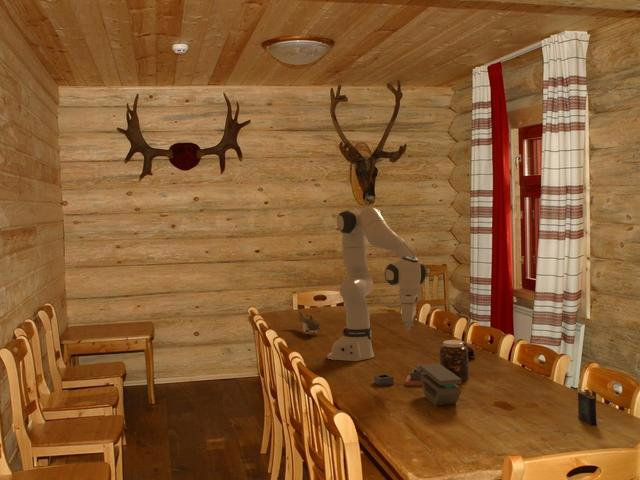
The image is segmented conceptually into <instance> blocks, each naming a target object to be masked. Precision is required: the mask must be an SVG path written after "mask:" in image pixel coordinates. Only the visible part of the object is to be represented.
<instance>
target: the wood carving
mask: <svg viewBox="0 0 640 480" xmlns="http://www.w3.org/2000/svg"><path fill="white" fill-rule="evenodd" d="M297 312H298V316H299V317H298V318H299V320H298V321H299V323H300V322H302V332H303V331H304V332H306V333H308V332H316V333H317V330H318V331H320V332H321V331H322V330H321V327H320V323H319V322H318V321H317V320H315V319H313V317H312V315H311V314H309V315H308V314H306V315H304V314H303V312H302V311H301V310H300V309H298V310H297Z"/></svg>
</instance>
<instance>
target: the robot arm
mask: <svg viewBox="0 0 640 480" xmlns="http://www.w3.org/2000/svg"><path fill="white" fill-rule="evenodd" d="M383 216H384V215H383V213H382V212H381V210H379V209H378V208H375V207H371V206H369V207H365V208H357V209H353V210H352V209H351V210H343V211H341V212H340V213H338V215H337V218H336V226H337V229H338V230H339V231H340V232H341V233H342V236H341V237H342V238H341V246H342V248H341V249H342V261H343V266H344V268H345V270H346V273H347V278H346V279H344V280H343V281H342V283H341V284H340V287H339V295H340V297H342V301H343V306H344V309H345V316H346V317H345V318H346V326H344V327H343V329H342V336H341V337H340V338H339V339H337V340H336V341H335V342H334V343H333V345H332V347H331V352H329V353H328V354H327V356H326V358H327V359H328V360H329V359H331V361H332V360H334V361H349V362H359V361H364V360H369V359H372V358H375V353H374V350H373V345H372V327H371V324H370V323H371V322H370V309H369V308H368V305H367V302H366V296H368V295H369V294H370V293H371V292H372V290H373V288H374V283H373V279H372V277H371V274H370V271H369V266H368V263H367V260H368V259H367V250H366V249H367V248H366V240H367V242H368V244H370V245H371V247H375V248H378V249H384V250H387V251H391V252H393V253H395V254H396V255H397V256H398V257H399V258H400V259H399V260H398V261H396V262H391V263H388V265H386V268H385V270H384V278H385V281H386V282H387V284H388V285H391V286H399V290H398V297H399V298H398V299H399V303H400V310H401V319H402V322H404V324H405V332H410V331H411V328H412V327H413V326H414V317H415V316H416V315H417V305H418V302H420V301H421V300H422V299H421V296H422V295H421V294H422V293H421V285H422V284H423V283H424V281H426V278H427V276H428V271H427V268H426V266H425V264H424V263H423V262H422V261H421V260H420V259H419V258H417V256H416V255H415V254H414V252H413V251H412V250H411V248H410V247H409V245H408V244H407V243H406V242H405V240H404V239H403V238H402V237H401V236H400V235H398V234H397V233H396V232H395V231H393V230H392V229H391V228H390V226H389V225H388V223H387V222H386V219H385V218H384V217H383Z"/></svg>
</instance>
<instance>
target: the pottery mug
mask: <svg viewBox="0 0 640 480" xmlns="http://www.w3.org/2000/svg"><path fill="white" fill-rule="evenodd" d="M463 344H464V346H466V347H467V349H468V358H471V357H473V359H474V360H475V359H476V354H475V352H474V349H473V348H472V347H471V346H470V345H468V343H466V342H463Z"/></svg>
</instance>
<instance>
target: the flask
mask: <svg viewBox="0 0 640 480" xmlns="http://www.w3.org/2000/svg"><path fill="white" fill-rule="evenodd" d="M590 391H591V388H590V389H583V391H581V390H580V391H578V392H577V400H578V401H577V404H578V405H577V406H578V408H577V409H578V410H577V415H578V417H577V418H578V419H579V420H581V421H582V422H584V423H586V424H588V425H589V426H594V427H595V426H597V425H598V424H597V403H596V402H597V401H596V399H597V398H596V397H595V396H594V395H593V394H592V392H590Z"/></svg>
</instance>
